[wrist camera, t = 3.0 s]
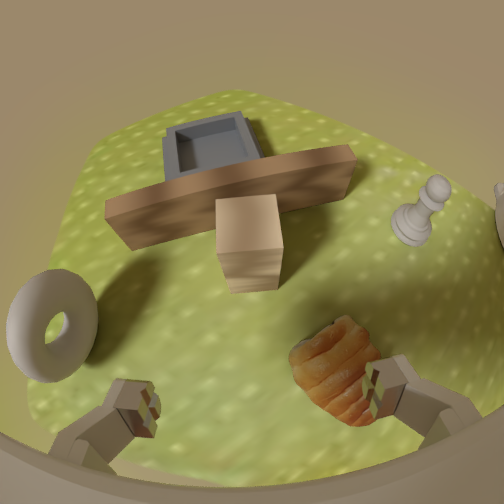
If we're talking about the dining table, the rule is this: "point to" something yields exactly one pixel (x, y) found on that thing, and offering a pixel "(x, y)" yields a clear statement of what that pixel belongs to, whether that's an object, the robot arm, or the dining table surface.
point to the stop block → (249, 242)
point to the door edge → (229, 193)
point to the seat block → (209, 145)
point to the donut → (38, 317)
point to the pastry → (336, 370)
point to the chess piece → (421, 212)
